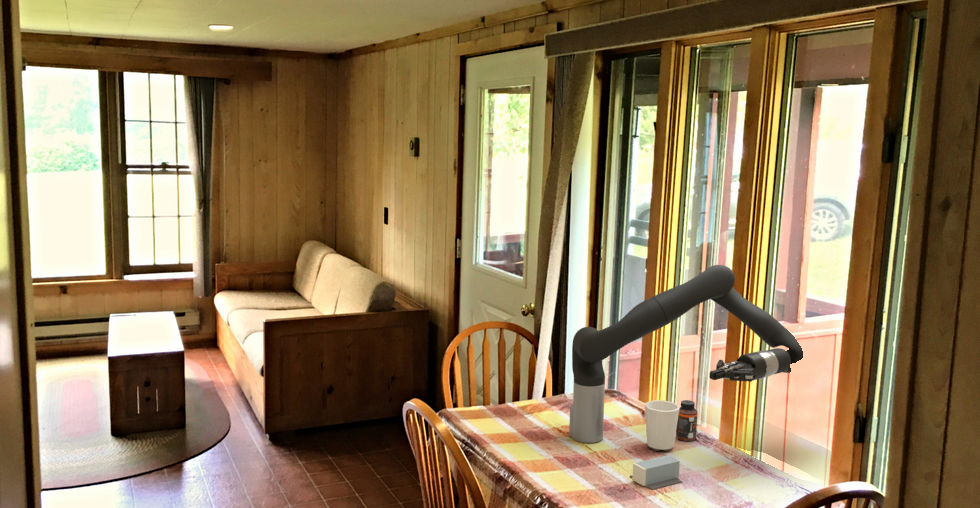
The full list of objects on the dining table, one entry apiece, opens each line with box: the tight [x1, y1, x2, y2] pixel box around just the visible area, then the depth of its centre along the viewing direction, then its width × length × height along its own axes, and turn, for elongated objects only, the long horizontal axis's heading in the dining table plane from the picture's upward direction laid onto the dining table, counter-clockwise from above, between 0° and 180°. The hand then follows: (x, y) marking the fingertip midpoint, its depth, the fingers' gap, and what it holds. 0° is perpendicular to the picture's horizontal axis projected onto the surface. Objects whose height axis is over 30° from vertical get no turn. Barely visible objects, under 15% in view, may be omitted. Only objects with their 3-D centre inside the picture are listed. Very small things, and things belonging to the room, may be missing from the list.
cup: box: [644, 399, 680, 453], centre depth 236 cm, size 10×10×13 cm
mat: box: [629, 474, 683, 491], centre depth 214 cm, size 9×10×1 cm
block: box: [631, 454, 681, 487], centre depth 214 cm, size 4×4×12 cm
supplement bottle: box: [675, 399, 698, 442], centre depth 243 cm, size 6×6×11 cm
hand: (711, 375), depth 221 cm, fingers closed
